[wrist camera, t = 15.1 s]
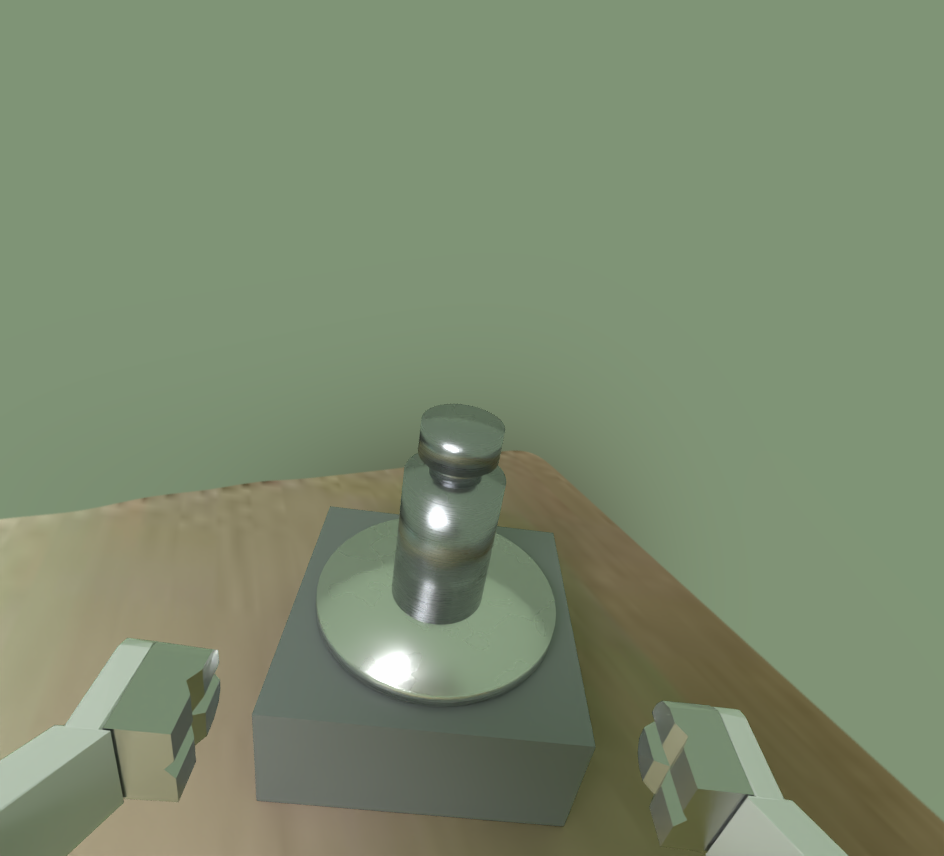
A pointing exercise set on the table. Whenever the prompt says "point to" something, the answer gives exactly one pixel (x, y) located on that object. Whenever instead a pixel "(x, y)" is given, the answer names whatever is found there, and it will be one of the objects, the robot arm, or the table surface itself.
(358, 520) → the scale base
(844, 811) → the table surface
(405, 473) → the calibration weight
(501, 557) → the scale pan
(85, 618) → the table surface
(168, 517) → the table surface
